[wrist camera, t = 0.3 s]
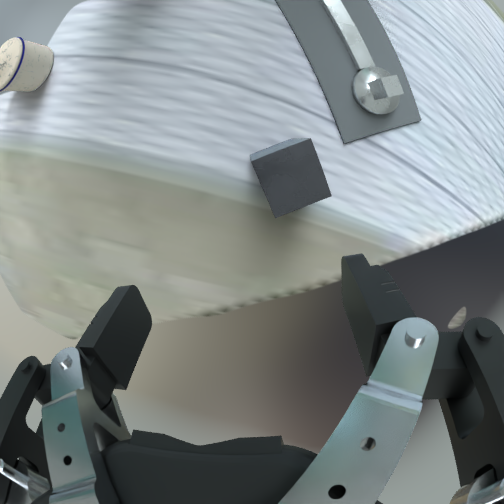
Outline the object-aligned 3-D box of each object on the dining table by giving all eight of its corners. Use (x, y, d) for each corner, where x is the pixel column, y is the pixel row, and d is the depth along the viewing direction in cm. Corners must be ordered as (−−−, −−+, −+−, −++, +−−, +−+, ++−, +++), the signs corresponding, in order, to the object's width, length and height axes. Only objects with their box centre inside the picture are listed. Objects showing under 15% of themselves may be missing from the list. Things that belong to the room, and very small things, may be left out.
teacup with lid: (53, 35, 24) (11, 22, 13) (58, 74, 27) (11, 66, 17) (10, 73, 25) (-32, 70, 14) (14, 111, 28) (-31, 114, 18)
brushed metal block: (250, 155, 34) (251, 161, 24) (292, 138, 34) (310, 138, 23) (267, 195, 37) (275, 218, 27) (308, 179, 36) (331, 196, 26)
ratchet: (303, 0, 24) (312, -18, 19) (345, -6, 23) (358, -21, 18) (362, 119, 32) (380, 117, 27) (400, 109, 31) (421, 107, 26)
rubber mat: (274, -1, 25) (274, -3, 24) (357, -13, 23) (358, -14, 22) (343, 143, 34) (344, 143, 33) (419, 120, 32) (421, 120, 31)
